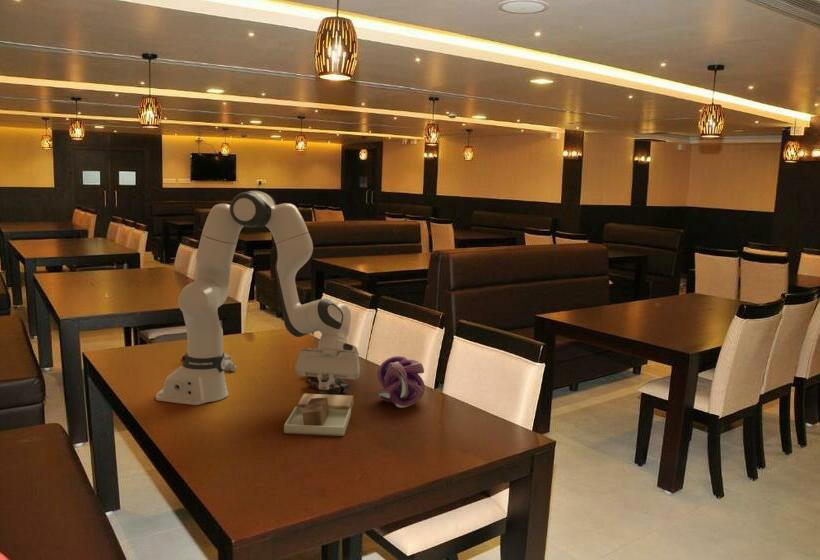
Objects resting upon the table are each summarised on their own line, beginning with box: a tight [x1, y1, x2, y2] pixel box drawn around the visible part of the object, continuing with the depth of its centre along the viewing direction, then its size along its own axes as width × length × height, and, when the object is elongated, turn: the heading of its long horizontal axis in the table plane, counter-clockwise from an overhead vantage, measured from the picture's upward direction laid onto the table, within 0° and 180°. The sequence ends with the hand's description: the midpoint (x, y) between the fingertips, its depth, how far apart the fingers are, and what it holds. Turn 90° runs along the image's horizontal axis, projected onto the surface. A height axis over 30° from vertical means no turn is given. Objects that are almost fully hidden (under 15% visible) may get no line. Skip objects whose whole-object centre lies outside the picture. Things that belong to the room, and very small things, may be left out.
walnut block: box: [302, 397, 329, 426], centre depth 184 cm, size 5×5×12 cm
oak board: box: [297, 393, 354, 411], centre depth 197 cm, size 16×10×3 cm, turn 88°
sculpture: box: [376, 355, 426, 409], centre depth 205 cm, size 16×17×20 cm
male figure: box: [224, 352, 237, 372], centre depth 239 cm, size 11×10×25 cm
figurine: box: [306, 376, 350, 395], centre depth 217 cm, size 13×6×30 cm
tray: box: [283, 405, 352, 437], centre depth 184 cm, size 17×16×2 cm
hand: (323, 388), depth 192 cm, fingers closed
